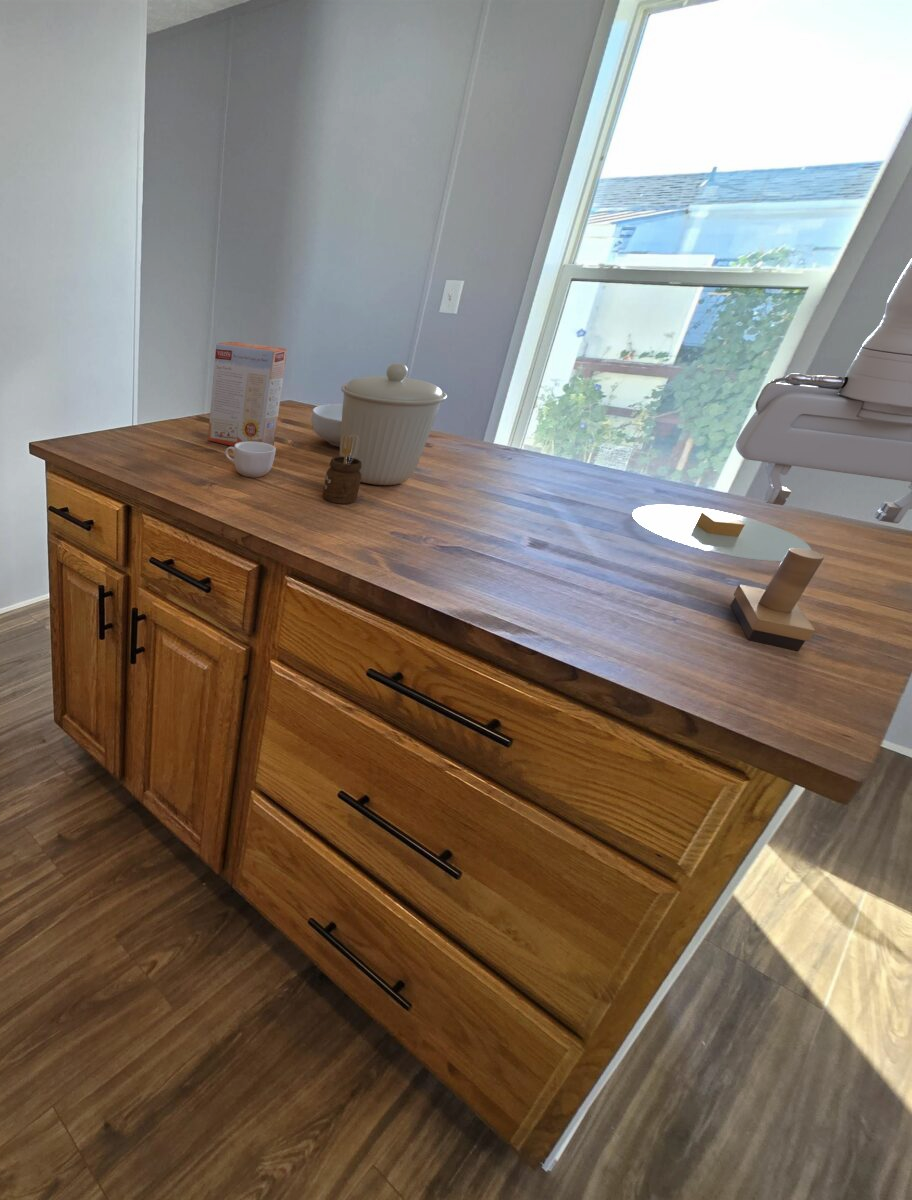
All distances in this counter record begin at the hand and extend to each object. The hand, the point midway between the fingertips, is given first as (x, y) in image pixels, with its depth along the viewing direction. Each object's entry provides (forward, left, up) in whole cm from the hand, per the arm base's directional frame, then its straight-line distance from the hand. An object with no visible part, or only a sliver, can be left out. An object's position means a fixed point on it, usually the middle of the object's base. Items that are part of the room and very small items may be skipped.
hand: (827, 511), depth 73 cm
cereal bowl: (+62, -54, -15) cm, 83 cm away
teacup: (+74, -22, -15) cm, 78 cm away
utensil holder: (+55, -17, -15) cm, 59 cm away
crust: (0, -31, -14) cm, 34 cm away
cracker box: (+82, -40, -15) cm, 92 cm away
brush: (0, 0, -15) cm, 15 cm away
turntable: (0, -31, -15) cm, 34 cm away
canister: (+52, -33, -15) cm, 63 cm away
